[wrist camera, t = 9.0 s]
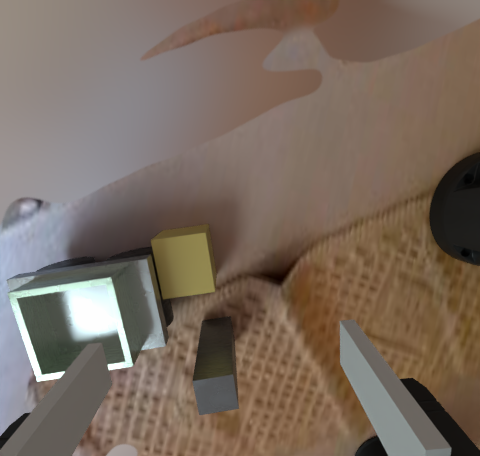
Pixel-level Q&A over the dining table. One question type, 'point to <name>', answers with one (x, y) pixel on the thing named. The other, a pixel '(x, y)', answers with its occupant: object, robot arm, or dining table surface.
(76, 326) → the box
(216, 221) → the dining table surface
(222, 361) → the pin
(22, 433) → the robot arm
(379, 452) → the milk frother
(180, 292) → the block
